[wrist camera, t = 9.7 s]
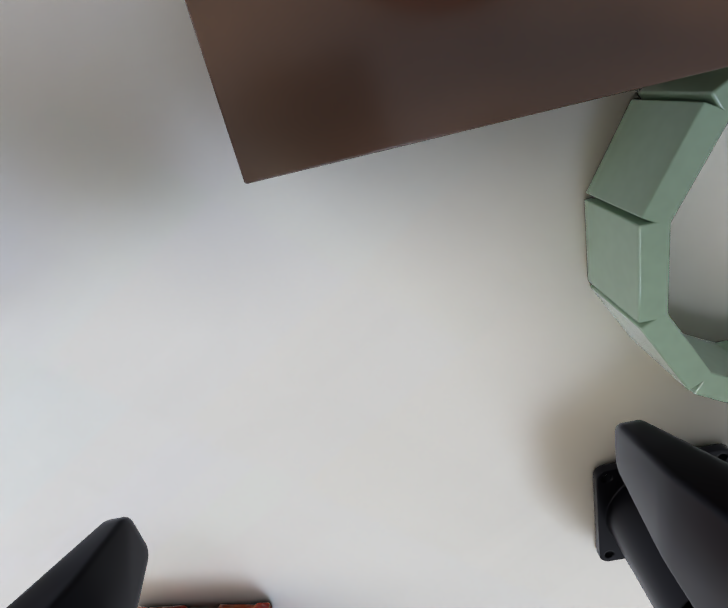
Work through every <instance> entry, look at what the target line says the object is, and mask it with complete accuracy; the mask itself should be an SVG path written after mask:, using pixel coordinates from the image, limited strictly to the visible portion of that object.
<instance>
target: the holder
mask: <svg viewBox="0 0 728 608" xmlns="http://www.w3.org/2000/svg"><path fill="white" fill-rule="evenodd" d="M638 94H639V96H640V98H641V99H642V100H637V99H632V100H631V101H630V103H629V105H628V108H627V110H626V112H625V114H624V116H623V118H622V120H621V122H620V124H619V126H618V128H617V130H616V132H615V134H614V136H613V138H612V140H611V142H610V145H609V147H608V149H607V151H606V153H605V155H604V157H603V159H602V161H601V163H600V165H599V167H598V169H597V171H596V173H595V175H594V177H593V180H592V182H591V184H590V186H589V188H588V190H587V192H586V193H587V194H589V195H591V196H593V197H594V198H590V199H586V200H585V221H586V243H587V265H588V281H589V282H590V283H591V284H593V285H591V289H592V290H593V291H594V292H595V294H596V295H597V296H598V297H599V299H600V300H601V301H602V302H603V304H604V305H605V306H606V307H607V309H608V310H609V311H610V312H611V314H612V315H613V316H614V317H615V319H616V320H617V321H618V322H619V324H620V325H621V326H622V327H623V329H624V330H625V331H626V332H627V334H628V335H629V336H630V337H631V339H632V340H633V341H635V342H636V343H637V344H638V345H639V346H640V347H641V348H642V349H643V350H644V351H646V352H647V353H648V354H649V355H650V356H651V357H652V358H653V359H654V360H655V361H657V362H658V363H659V364H660V365H661V366H662V367H663V368H664V369H665V370H666V371H668V372H669V373H670V374H671V375H672V376H673V377H674V378H675V379H676V380H677V381H679V382H680V383H681V384H682V385H683V386H684V387H685V388H686V389H688V390H691V391H692V392H693V393H694V394H697V395H700V396H704V397H708V398H711V399H715V400H719V401H722V402H726V403H728V340H726V341H721V342H716V343H714V342H711V341H707V340H704V339H700V338H697V337H694V336H690V335H687V334H683V333H682V332H681V331H680V329H679V328H678V327H677V325H676V324H675V322H674V321H673V320H672V318H671V317H670V316H669V314H668V292H669V257H670V223H671V221H672V219H673V218H674V216H675V214H676V212H677V211H678V209H679V207H680V205H681V204H682V202H683V200H684V198H685V197H686V195H687V193H688V191H689V190H690V188H691V186H692V184H693V183H694V181H695V179H696V177H697V176H698V174H699V172H700V170H701V169H702V167H703V165H704V163H705V162H706V160H707V158H708V156H709V155H710V153H711V151H712V149H713V148H714V146H715V144H716V142H717V141H718V139H719V137H720V135H721V134H722V132H723V130H724V128H725V127H726V125H727V123H728V67H726V68H722V69H718V70H714V71H710V72H705V73H701V74H697V75H693V76H689V77H685V78H681V79H677V80H672V81H668V82H664V83H660V84H656V85H652V86H648V87H644V88H642V89H641V90H640V91H639V92H638Z"/></svg>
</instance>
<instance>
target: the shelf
mask: <svg viewBox="0 0 728 608" xmlns="http://www.w3.org/2000/svg"><path fill="white" fill-rule="evenodd" d="M185 3H186V6H187V9H188V12H189V15H190V18H191V21H192V24H193V27H194V30H195V33H196V36H197V39H198V42H199V45H200V48H201V52H202V55H203V58H204V61H205V64H206V67H207V70H208V73H209V76H210V79H211V82H212V85H213V88H214V91H215V94H216V97H217V100H218V103H219V106H220V109H221V112H222V115H223V119H224V122H225V125H226V128H227V131H228V134H229V137H230V140H231V143H232V146H233V149H234V152H235V155H236V158H237V161H238V164H239V167H240V170H241V173H242V176H243V179H244V182H245V183H246V184H248V183H252V182H256V181H260V180H265V179H269V178H273V177H277V176H281V175H285V174H289V173H293V172H298V171H302V170H306V169H310V168H314V167H318V166H322V165H326V164H331V163H335V162H339V161H343V160H347V159H351V158H355V157H359V156H363V155H368V154H372V153H376V152H380V151H384V150H388V149H392V148H396V147H401V146H405V145H409V144H413V143H417V142H421V141H425V140H429V139H434V138H438V137H442V136H446V135H450V134H454V133H458V132H462V131H466V130H471V129H475V128H479V127H483V126H487V125H491V124H495V123H499V122H504V121H508V120H512V119H516V118H520V117H524V116H528V115H532V114H537V113H541V112H545V111H549V110H553V109H557V108H561V107H565V106H569V105H574V104H578V103H582V102H586V101H590V100H594V99H598V98H602V97H607V96H611V95H615V94H619V93H623V92H627V91H631V90H635V89H640V88H644V87H648V86H652V85H656V84H660V83H664V82H668V81H672V80H677V79H681V78H685V77H689V76H693V75H697V74H701V73H705V72H710V71H714V70H718V69H722V68H726V67H728V0H185Z"/></svg>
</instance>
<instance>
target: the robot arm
mask: <svg viewBox="0 0 728 608" xmlns="http://www.w3.org/2000/svg"><path fill="white" fill-rule="evenodd" d="M615 446H616V463H610V464H605V465H601V466H598V467H597V468H596V469H595V470H594V471H593V487H594V507H595V527H596V548H597V552H598V554H599V556H600V558H601V559H602V560H604V561H612V560H618V559H624V558H626V560H627V562H628V564H629V565H630V567H631V569H632V571H633V572H634V574H635V576H636V578H637V579H638V581H639V583H640V585H641V586H642V588H643V590H644V592H645V593H646V595H647V597H648V599H649V600H650V602H651V604H652V606H653V607H654V608H728V448H727V447H726V446H725V445H723V444H715V445H709V446H704V447H698V448H697V447H695V446H693V445H691V444H689V443H687V442H685V441H683V440H681V439H679V438H677V437H675V436H673V435H671V434H669V433H667V432H665V431H663V430H661V429H659V428H657V427H655V426H653V425H651V424H649V423H647V422H645V421H642V420H635V421H630V422H624V423H620V424H618V425H617V426H616V429H615ZM606 474H607V475H606ZM604 475H605V476H604ZM147 562H148V549H147V545H146V543H145V542H144V540H143V538H142V537H141V535H140V533H139V531H138V530H137V528H136V526H135V525H134V523H133V521H132V520H131V519H129V518H128V517H121V518H116V519H111V520H107V521H105V522H103V523H102V524H101V525H100V526H99V527H98V528H96V529H95V530H94V531H93V532H92V533H91V534H90V535H88V536H87V537H86V538H85V539H84V540H83V541H82V542H81V543H79V544H78V545H77V546H76V547H75V548H74V549H73V550H72V551H70V552H69V553H68V554H67V555H66V556H65V557H64V558H62V559H61V560H60V561H59V562H58V563H57V564H56V565H55V566H53V567H52V568H51V569H50V570H49V571H48V572H47V573H45V574H44V575H43V576H42V577H41V578H40V579H39V580H38V581H36V582H35V583H34V584H33V585H32V586H31V587H30V588H28V589H27V590H26V591H25V592H24V593H23V594H22V595H21V596H19V597H18V598H17V599H16V600H15V601H14V602H13V603H12V604H10V605H9V606H8V607H7V608H137V607H138V603H139V598H140V594H141V589H142V584H143V580H144V575H145V571H146V566H147Z"/></svg>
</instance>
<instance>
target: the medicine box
mask: <svg viewBox="0 0 728 608" xmlns="http://www.w3.org/2000/svg"><path fill="white" fill-rule="evenodd" d="M137 608H146V607H137ZM151 608H187V607H186V606H185V605H182V606H166V607H151ZM219 608H272V607H271V605H270V603H256V605H250V604H220V606H219Z"/></svg>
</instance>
